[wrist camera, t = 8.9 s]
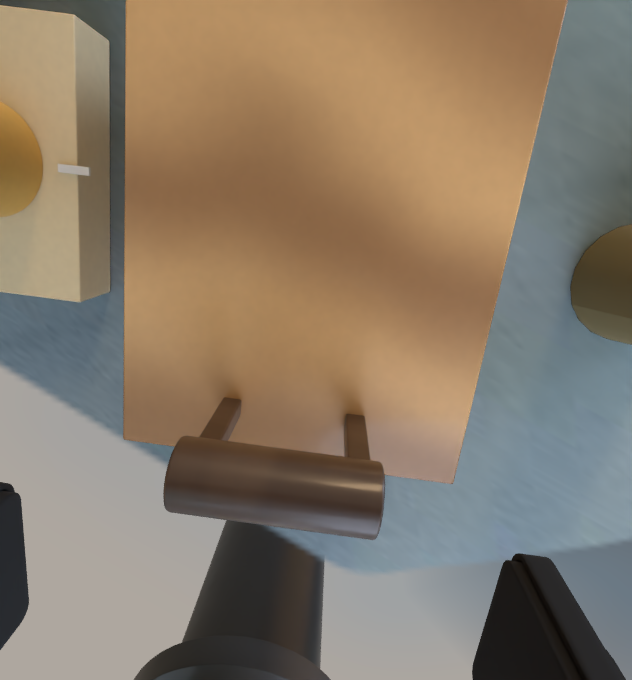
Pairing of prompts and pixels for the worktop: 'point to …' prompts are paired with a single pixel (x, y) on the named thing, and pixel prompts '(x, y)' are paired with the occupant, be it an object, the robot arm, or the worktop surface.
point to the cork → (606, 286)
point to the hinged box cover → (318, 240)
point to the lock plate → (58, 155)
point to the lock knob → (17, 163)
